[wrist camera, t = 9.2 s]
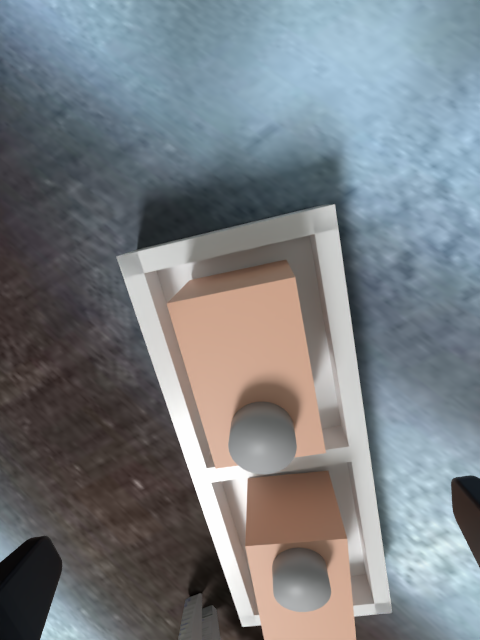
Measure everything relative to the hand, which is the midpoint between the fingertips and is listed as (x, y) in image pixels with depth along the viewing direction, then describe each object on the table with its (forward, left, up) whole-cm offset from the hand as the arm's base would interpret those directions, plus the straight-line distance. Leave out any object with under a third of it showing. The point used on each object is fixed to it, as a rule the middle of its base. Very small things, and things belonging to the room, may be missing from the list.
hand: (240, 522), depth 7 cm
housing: (0, +6, -10) cm, 12 cm away
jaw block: (0, 0, -9) cm, 9 cm away
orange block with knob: (0, +11, -9) cm, 14 cm away
